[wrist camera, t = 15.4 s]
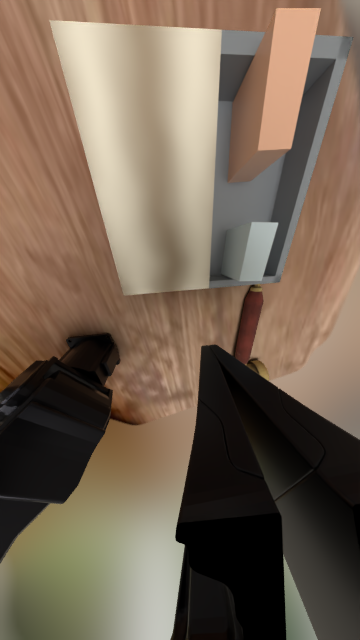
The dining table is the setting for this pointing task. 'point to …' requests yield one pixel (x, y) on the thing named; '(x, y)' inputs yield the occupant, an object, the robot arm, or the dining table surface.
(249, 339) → the gavel
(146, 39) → the board
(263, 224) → the grey sharp-edged block
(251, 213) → the tray
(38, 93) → the dining table surface
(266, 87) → the tile terracotta
